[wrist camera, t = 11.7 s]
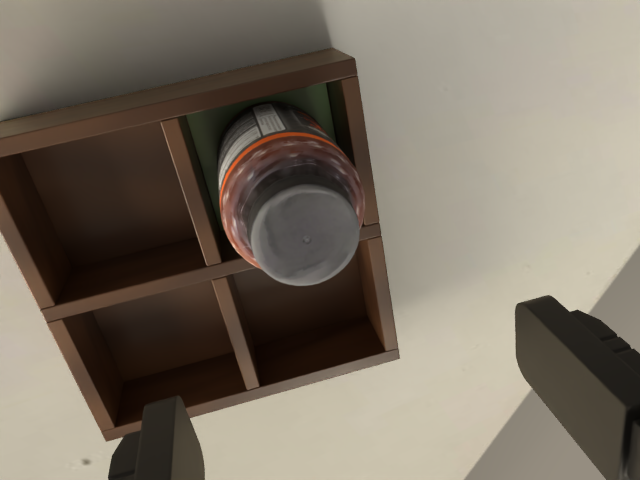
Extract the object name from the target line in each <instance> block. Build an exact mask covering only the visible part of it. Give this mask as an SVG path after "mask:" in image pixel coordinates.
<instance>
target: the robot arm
mask: <svg viewBox="0 0 640 480" xmlns="http://www.w3.org/2000/svg"><path fill="white" fill-rule="evenodd" d="M515 331H516V358H517V362H518V366H519V368H520V371H521V373H522V375H523V376H524V378H525V379H526V381H527V382H528V383H529V385H530V386H531V387H532V388H533V390H534V391H535V392H536V393H537V394H538V396H539V397H540V398H541V399H542V401H543V402H544V403H545V404H546V406H547V407H548V408H549V409H550V411H551V412H552V413H553V414H554V415H555V417H556V418H557V419H558V420H559V422H560V423H561V424H562V425H563V426H564V428H565V429H566V430H567V432H568V433H569V434H570V435H571V437H572V438H573V439H574V440H575V441H576V443H577V444H578V445H579V446H580V448H581V449H582V450H583V451H584V453H585V454H586V455H587V456H588V458H589V459H590V460H591V461H592V463H593V464H594V465H595V466H596V467H597V468H598V470H599V471H600V472H601V474H602V475H603V476H604V477H605V478H606V480H640V354H639V353H638V352H637V351H636V350H635V349H631V347H630V345H629V344H628V343H627V342H625V341H624V340H623V339H622V338H620V337H617V334H616V333H615V332H614V331H613V330H611V329H610V328H609V327H608V326H607V325H606V324H604V323H603V322H602V321H601V320H599V319H597V318H595V317H592V316H590V315H588V314H586V313H584V312H581V311H579V310H575V311H572V312H569V311H568V310H567V309H566V308H565V307H564V306H562V305H561V304H560V303H559V302H558V301H557V300H556V299H555V298H553V297H552V296H549V295H547V296H543V297H539V298H536V299H532V300H528V301H525V302H521V303H518V304H517V305H516V309H515ZM108 479H109V480H205V469H204V460H203V455H202V450H201V447H200V443H199V441H198V438H197V436H196V433H195V431H194V428H193V426H192V423H191V421H190V418H189V415H188V413H187V410H186V408H185V405H184V403H183V401H182V399H181V397H180V396H179V395H178V396H174V397H170V398H167V399H163V400H159V401H156V402H152V403H148V404H146V405H145V406H144V410H143V416H142V424H141V430H140V431H136V432H132V433H129V434H125V436H124V437H123V439H122V441H121V442H120V444H119V445H118V447H117V449H116V450H115V452H114V454H113V455H112V459H111V464H110V469H109V475H108Z"/></svg>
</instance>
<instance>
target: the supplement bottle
mask: <svg viewBox="0 0 640 480" xmlns="http://www.w3.org/2000/svg"><path fill="white" fill-rule="evenodd" d="M217 173H218V187H219V204H220V212H221V219H222V223H223V227H224V230H225V232H226V235H227V237H228V239H229V241H230V243H231V244H232V246H233V247H234V248H235V250H236V251H237V252H238V253H239V254H240V255H241V256H242V257H243V258H244V259H245V260H246V261H248V262H249V263H250V264H252V265H254V266H255V267H257V268H260V269H262V270H263V271H264V272H265V273H267V274H268V275H269V276H270V277H272V278H274V279H275V280H277V281H279V282H281V283H285V284H289V285H295V286H308V285H314V284H318V283H321V282H324V281H326V280H328V279H330V278H332V277H333V276H335V275H336V274H337V273H339V272H340V271H341V270H342V269H344V267H345V266H346V265H347V264H348V263H349V262H350V260H351V259H352V257H353V255H354V253H355V251H356V249H357V246H358V242H359V235H360V228H361V226H362V222H363V218H364V213H365V192H364V189H363V185H362V181H361V179H360V176H359V174H358V172H357V170H356V169H355V167H354V166H353V164H352V163H351V161H350V160H349V159H348V158H347V156H346V155H345V154H344V152H343V151H342V150H341V149H340V148H339V147H338V145H337V144H336V143H335V142H334V141H333V140H332V139H331V138H330V137H329V135H328V134H327V133H326V132H325V130H324V129H323V128H322V126H321V125H320V124H319V123H318V122H317V121H316V120H315V119H314V118H313V117H312V116H310V115H309V114H308V113H306V112H305V111H303V110H302V109H300V108H298V107H296V106H294V105H291V104H288V103H285V102H278V101H267V102H261V103H257V104H254V105H251V106H249V107H247V108H245V109H243V110H242V111H240V112H239V113H238V114H237V115H235V116H234V117H233V118H232V119H231V121H230V122H229V123H228V124H227V126H226V127H225V129H224V131H223V133H222V135H221V138H220V141H219V145H218V148H217Z"/></svg>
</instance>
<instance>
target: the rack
mask: <svg viewBox="0 0 640 480" xmlns="http://www.w3.org/2000/svg"><path fill="white" fill-rule="evenodd" d="M267 101H278V102H285V103H288V104H291V105H294V106H296V107H298V108H300V109H302V110H303V111H305V112H306V113H308V114H309V115H310V116H312V117H313V118H314V119H315V120H316V121H317V122H318V123H319V124H320V125H321V126H322V128H323V129H324V130H325V132H326V133H327V134H328V135H329V137H330V138H331V139H332V140H333V141H334V142H335V143H336V144H337V145H338V147H339V148H340V149H341V150H342V151H343V152H344V154H345V155H346V156H347V158H348V159H349V160H350V161H351V163H352V164H353V166H354V167H355V169H356V170H357V172H358V174H359V176H360V179H361V181H362V185H363V189H364V192H365V213H364V218H363V222H362V226H361V228H360V235H359V242H358V246H357V249H356V251H355V253H354V255H353V257H352V259H351V260H350V262H349V263H348V264H347V265H346V266H345V267H344V269H342V270H341V271H340V272H339V273H337V274H336V275H335V276H333V277H332V278H330V279H328V280H326V281H324V282H321V283H318V284H314V285H308V286H295V285H289V284H285V283H281V282H279V281H277V280H275V279H274V278H272V277H270V276H269V275H268V274H267V273H265V272H264V271H263V270H262V269H260V268H257V267H255V266H254V265H252V264H250V263H249V262H248V261H246V260H245V259H244V258H243V257H242V256H241V255H240V254H239V253H238V252H237V251H236V250H235V248H234V247H233V246H232V244H231V243H230V241H229V239H228V237H227V235H226V232H225V230H224V227H223V223H222V219H221V212H220V204H219V187H218V173H217V148H218V145H219V141H220V138H221V135H222V133H223V131H224V129H225V127H226V126H227V124H228V123H229V122H230V121H231V119H232V118H233V117H234V116H235V115H237V114H238V113H239V112H240V111H242V110H243V109H245V108H247V107H249V106H251V105H254V104H257V103H261V102H267ZM0 232H1V234H2V236H3V238H4V240H5V242H6V244H7V246H8V248H9V250H10V252H11V254H12V256H13V258H14V260H15V262H16V264H17V266H18V268H19V270H20V272H21V274H22V276H23V278H24V280H25V282H26V284H27V286H28V288H29V290H30V292H31V294H32V296H33V298H34V300H35V302H36V304H37V306H38V307H39V309H40V311H41V313H42V315H43V317H44V319H45V321H46V322H47V326H48V328H49V330H50V331H51V333H52V335H53V337H54V339H55V341H56V343H57V345H58V347H59V349H60V351H61V353H62V355H63V357H64V359H65V361H66V363H67V365H68V367H69V369H70V371H71V373H72V375H73V377H74V379H75V381H76V383H77V385H78V387H79V389H80V391H81V393H82V395H83V397H84V399H85V401H86V403H87V405H88V407H89V408H90V410H91V412H92V414H93V416H94V418H95V420H96V422H97V424H98V426H99V428H100V430H101V432H102V434H103V436H104V438H105V440H106V442H107V441H111V440H114V439H118V438H121V437H124V436H125V434H129V433H132V432H136V431H140V430H141V424H142V416H143V410H144V406H145V405H146V404H148V403H152V402H156V401H159V400H163V399H167V398H170V397H174V396H178V395H179V396H180V397H181V399H182V401H183V403H184V405H185V408H186V410H187V413H188V415H189V418H192V417H195V416H199V415H202V414H206V413H209V412H213V411H217V410H220V409H224V408H227V407H231V406H234V405H238V404H241V403H245V402H248V401H252V400H255V399H259V398H262V397H266V396H270V395H273V394H277V393H280V392H284V391H287V390H291V389H294V388H298V387H301V386H305V385H308V384H312V383H315V382H319V381H323V380H326V379H330V378H333V377H337V376H340V375H344V374H347V373H351V372H354V371H358V370H361V369H365V368H368V367H372V366H375V365H379V364H383V363H386V362H390V361H393V360H397V359H400V356H399V349H398V343H397V336H396V330H395V323H394V316H393V310H392V303H391V296H390V289H389V283H388V276H387V269H386V262H385V256H384V249H383V242H382V236H381V229H380V223H379V215H378V208H377V202H376V195H375V188H374V182H373V175H372V168H371V161H370V155H369V148H368V141H367V134H366V128H365V121H364V114H363V108H362V101H361V94H360V87H359V81H358V76H357V68H356V61H355V58H353V57H351V56H349V55H347V54H345V53H343V52H341V51H339V50H336V49H334V48H329V49H324V50H320V51H315V52H311V53H306V54H302V55H297V56H293V57H288V58H284V59H279V60H275V61H271V62H266V63H262V64H257V65H253V66H248V67H244V68H239V69H235V70H230V71H226V72H221V73H217V74H212V75H208V76H203V77H199V78H195V79H190V80H186V81H181V82H177V83H172V84H168V85H163V86H159V87H154V88H150V89H145V90H141V91H136V92H132V93H127V94H123V95H119V96H114V97H110V98H105V99H101V100H96V101H92V102H87V103H83V104H78V105H74V106H69V107H65V108H60V109H56V110H51V111H47V112H43V113H38V114H34V115H29V116H25V117H20V118H16V119H11V120H7V121H2V122H0Z"/></svg>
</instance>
